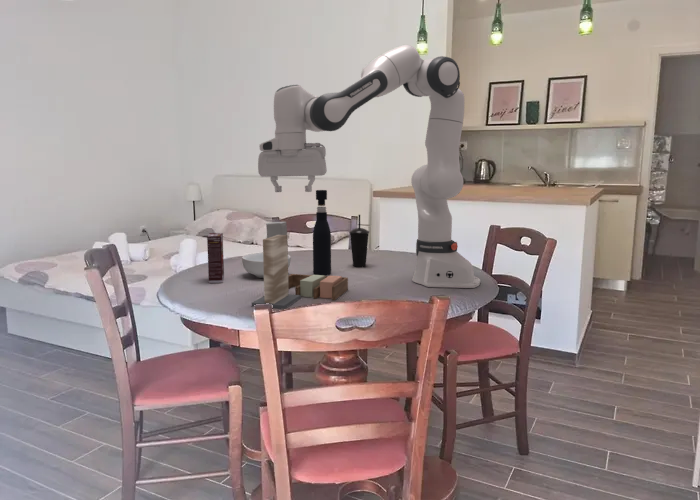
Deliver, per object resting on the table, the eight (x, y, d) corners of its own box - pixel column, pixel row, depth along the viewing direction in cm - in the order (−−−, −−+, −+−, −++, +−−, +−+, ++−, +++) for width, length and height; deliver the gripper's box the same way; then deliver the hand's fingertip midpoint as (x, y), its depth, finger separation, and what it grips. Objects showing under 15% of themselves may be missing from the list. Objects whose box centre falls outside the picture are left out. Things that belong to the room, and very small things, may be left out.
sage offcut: (325, 291, 170) (325, 275, 169) (312, 297, 162) (312, 281, 161) (313, 290, 172) (313, 274, 171) (300, 296, 163) (300, 280, 163)
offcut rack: (347, 289, 171) (347, 277, 170) (334, 300, 158) (334, 287, 158) (291, 285, 176) (291, 273, 176) (274, 295, 164) (274, 282, 163)
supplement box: (223, 283, 181) (221, 236, 178) (208, 283, 180) (206, 236, 177) (224, 277, 189) (223, 232, 186) (210, 277, 188) (208, 232, 185)
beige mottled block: (288, 295, 161) (287, 235, 157) (274, 303, 151) (272, 240, 148) (279, 294, 161) (277, 234, 158) (264, 302, 152) (262, 239, 149)
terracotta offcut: (342, 291, 169) (341, 276, 168) (332, 298, 161) (332, 282, 160) (329, 290, 170) (329, 275, 169) (319, 297, 162) (319, 281, 161)
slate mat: (300, 298, 161) (300, 295, 160) (284, 309, 149) (284, 305, 149) (269, 295, 163) (269, 292, 163) (251, 306, 152) (251, 302, 152)
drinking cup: (345, 266, 208) (345, 214, 205) (359, 263, 213) (359, 213, 210) (358, 269, 202) (358, 216, 199) (373, 266, 207) (373, 214, 204)
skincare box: (283, 262, 215) (282, 223, 212) (266, 262, 216) (265, 223, 213) (289, 258, 223) (288, 220, 221) (272, 258, 224) (271, 220, 222)
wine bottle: (328, 276, 190) (328, 190, 185) (311, 275, 192) (310, 190, 187) (332, 272, 197) (332, 189, 192) (315, 271, 198) (314, 189, 193)
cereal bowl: (235, 280, 185) (234, 259, 184) (251, 270, 201) (251, 251, 200) (283, 281, 182) (283, 261, 181) (296, 271, 199) (295, 252, 197)
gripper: (328, 142, 155) (330, 190, 158) (263, 145, 161) (266, 191, 163) (321, 142, 149) (323, 192, 152) (254, 144, 155) (257, 193, 158)
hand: (293, 192), depth 158 cm, fingers open, 8 cm apart
